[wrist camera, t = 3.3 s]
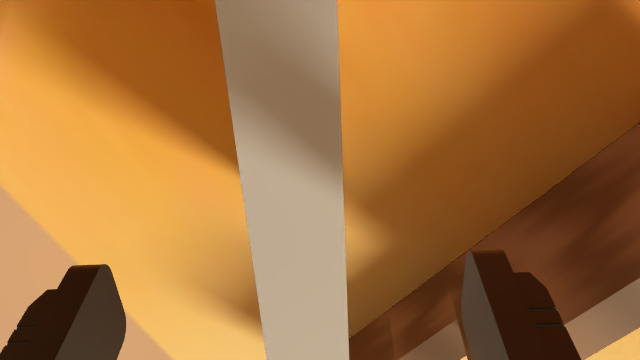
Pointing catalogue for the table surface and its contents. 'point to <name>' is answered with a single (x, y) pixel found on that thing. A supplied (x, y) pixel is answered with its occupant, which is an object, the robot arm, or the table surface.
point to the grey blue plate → (290, 168)
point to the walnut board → (541, 266)
